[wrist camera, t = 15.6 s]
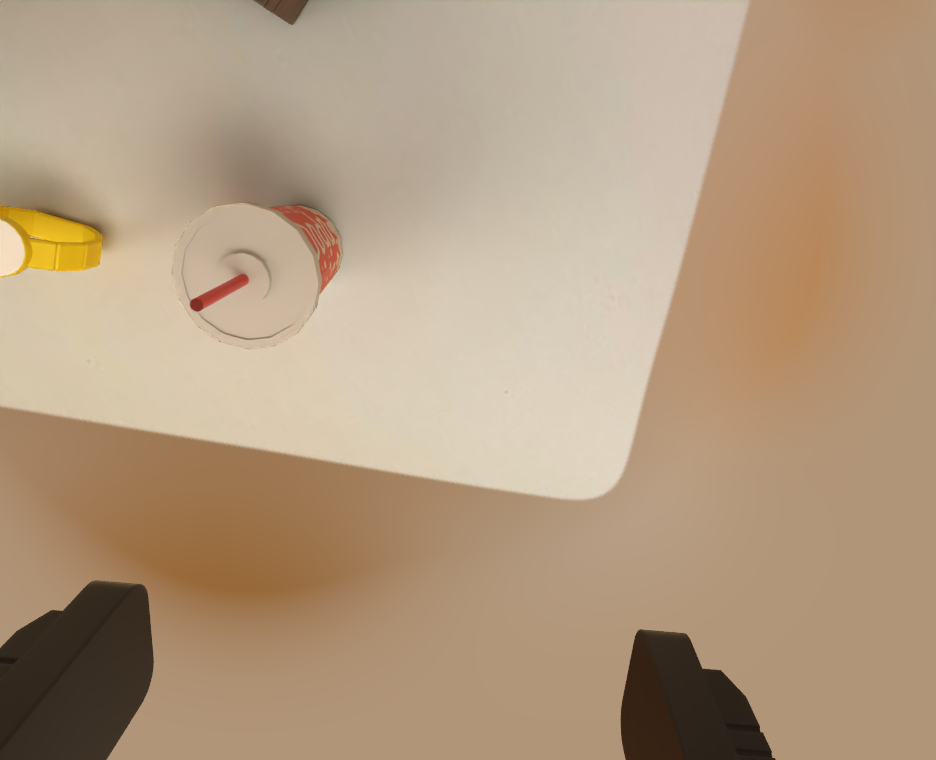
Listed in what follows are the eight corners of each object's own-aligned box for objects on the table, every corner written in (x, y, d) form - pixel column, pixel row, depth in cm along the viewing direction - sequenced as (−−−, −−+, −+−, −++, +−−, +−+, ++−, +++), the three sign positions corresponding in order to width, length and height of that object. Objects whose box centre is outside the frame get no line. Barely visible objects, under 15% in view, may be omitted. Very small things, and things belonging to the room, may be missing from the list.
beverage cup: (372, 284, 37) (311, 360, 24) (271, 317, 38) (156, 408, 25) (331, 174, 35) (240, 188, 22) (225, 211, 36) (75, 247, 23)
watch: (8, 238, 37) (-79, 255, 31) (12, 188, 36) (-76, 195, 30) (117, 272, 37) (52, 294, 31) (124, 223, 36) (58, 236, 31)
